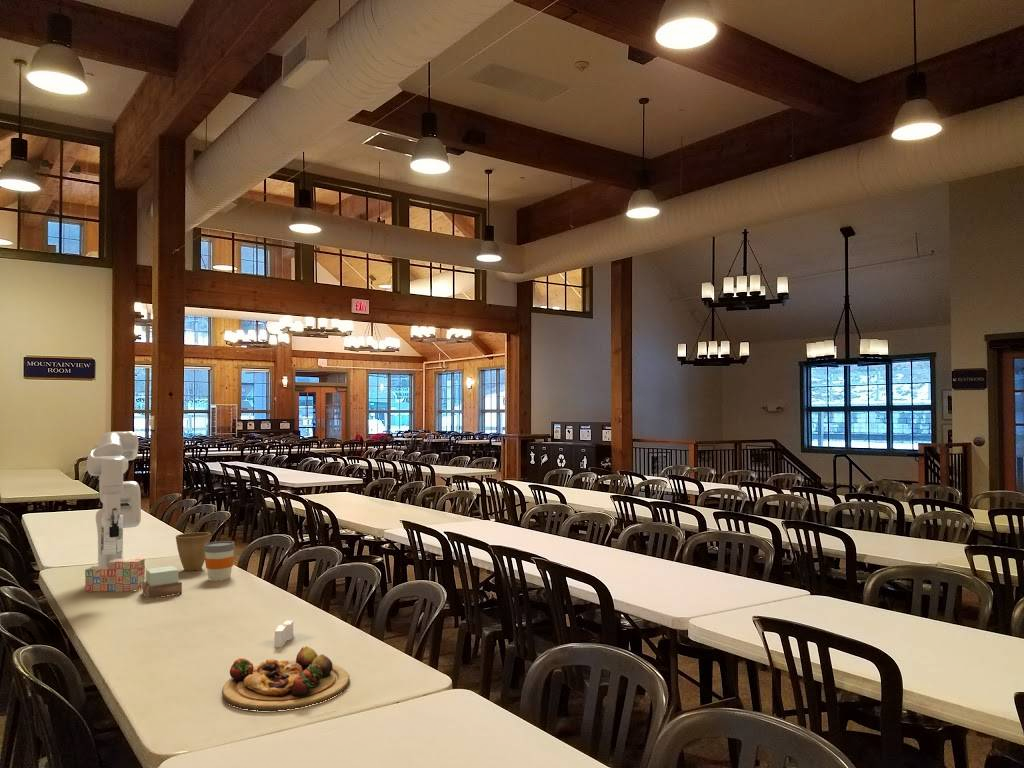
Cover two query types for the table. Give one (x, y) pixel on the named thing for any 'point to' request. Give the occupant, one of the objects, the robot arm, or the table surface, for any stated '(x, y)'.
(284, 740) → the table surface
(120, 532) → the syrup box
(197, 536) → the plant pot
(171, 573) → the tower top block
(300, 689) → the wooden plate with food
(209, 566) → the reusable coffee cup
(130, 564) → the stack of blocks
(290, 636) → the napkin holder
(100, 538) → the robot arm
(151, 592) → the tower base block
